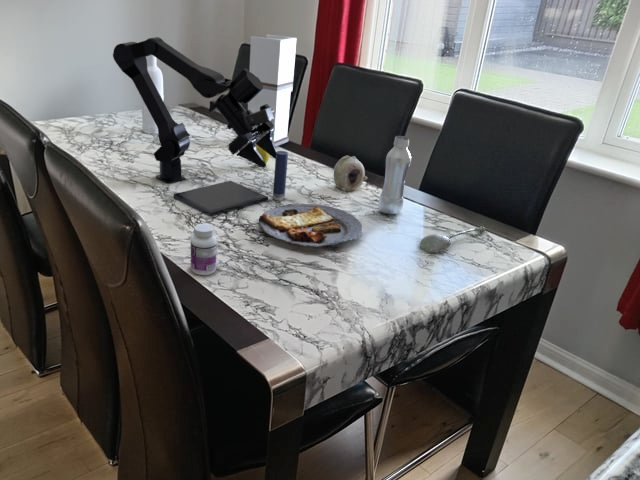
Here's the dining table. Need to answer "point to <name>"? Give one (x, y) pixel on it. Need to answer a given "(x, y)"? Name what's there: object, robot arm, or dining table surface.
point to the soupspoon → (442, 240)
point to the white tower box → (274, 79)
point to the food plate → (310, 224)
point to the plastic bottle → (395, 176)
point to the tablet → (220, 197)
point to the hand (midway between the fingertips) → (271, 162)
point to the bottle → (157, 79)
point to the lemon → (263, 154)
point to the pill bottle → (203, 250)
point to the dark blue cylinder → (280, 175)
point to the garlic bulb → (349, 173)
